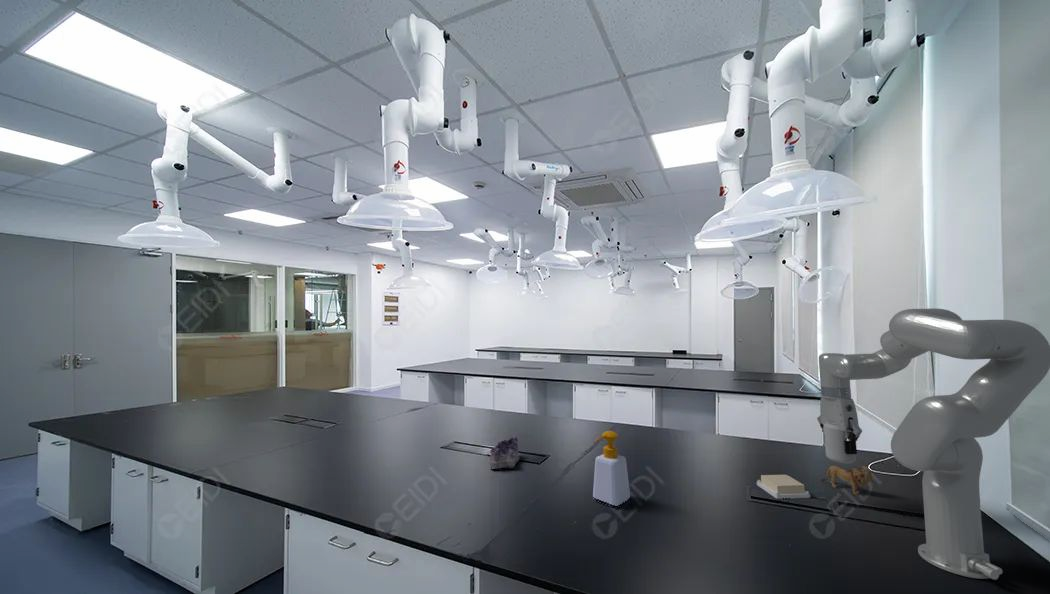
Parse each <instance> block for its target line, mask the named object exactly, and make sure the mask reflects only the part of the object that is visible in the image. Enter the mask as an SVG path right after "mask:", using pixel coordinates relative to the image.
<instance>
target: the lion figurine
mask: <svg viewBox="0 0 1050 594" xmlns="http://www.w3.org/2000/svg"><path fill="white" fill-rule="evenodd" d="M837 477H838V478H839V479H840V480H842V481H843V482H845V483H850V484H851V488H852V492H853V494H854V495H857V496H858V495H859V493H861V490H860V489H859V486H862V487H863V486H865V485H866V484H868V483H871V482H872V480H873V474H872V470H871V469H870V468H868V467H867V466H859V467H855V468H851V469H848V470H845V469H843V468H841V467H839V466H837V465H832V466H829V467H828V469H827V472H826V476H825V477H824V478H823V479H820V481H821V482H825V481H826V480H827V479H828V482H829V484H831V486H832V487H833V488H835V489H837V488H838V486H837V485H836V484H835V480H836V478H837Z"/></svg>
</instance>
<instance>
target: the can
mask: <svg viewBox="0 0 1050 594" xmlns="http://www.w3.org/2000/svg"><path fill="white" fill-rule="evenodd" d="M846 430H851V429H850V428H847V429H846ZM847 433H848V435H849V436H850V434H851V432H847ZM824 436H825V444H824V449H825V456H826V457H827V458H828V459H829V461H832V462H834V463H839V464H845V465H846V464H848V465H849V464H853V463H854V462H856V461H857V454H846V453H845V446H844V440H846V439H845V437H844V435H843V432H842V431H840V429H839V428H838V427H837V426H836V423H830V422H828V421H826V424H825V425H824V433H823V437H824Z"/></svg>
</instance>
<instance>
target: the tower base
mask: <svg viewBox="0 0 1050 594" xmlns="http://www.w3.org/2000/svg"><path fill="white" fill-rule="evenodd" d="M756 486H757V487H759V488H761V489H762V490H763V491H765V492H766V493H767V494H769V495H771V496H772V497H774V498H775V499H776V500H777V499H778V500H780V499H781V500H783V498H784V499H785V498H787V499H788V498H790V499H810V498H811V494H810V491H808V490H805V484H803V483H801V482H800V481H798V480H796V479H795V478H793V477H792V476H789V475H788V474H761V475H760V479H757V481H756Z"/></svg>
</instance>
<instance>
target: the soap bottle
mask: <svg viewBox="0 0 1050 594" xmlns="http://www.w3.org/2000/svg"><path fill="white" fill-rule="evenodd" d="M618 437H619V434H618V433H616V431H615V432H614V431H612V430H607V431H604V432H602V433H601V436H600V437H599V438H597V439H595V440H594V441H593V444H596V443H597V442H598V441H600V440H601V439H603V440H604V441H605V442H607V445H604V446H603V454H600V455H598V456H596V457H595V460H594V461H595V462H594V475H593V476H594V477H593V490H592V498H593V497H594V498H596V499H599V500H601V501H604V502H607V503H609V504H612V505H615V506H618V505H620V504H621V505H622V503H623V502H624V503H626V502H628V501H629V500H630V499H629V498H631V490H630V482H629V474H628V473H629V472H628V467H627V465H628V464H627V459H626V457H625V456H623V455H619V454H618V447H617V446H614V444H613V442H616V441H617V438H618ZM594 498H593V499H594ZM628 499H629V500H628ZM627 500H628V501H627ZM625 501H626V502H625ZM624 503H623V504H624ZM621 505H620V506H621ZM618 507H619V506H618Z"/></svg>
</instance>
